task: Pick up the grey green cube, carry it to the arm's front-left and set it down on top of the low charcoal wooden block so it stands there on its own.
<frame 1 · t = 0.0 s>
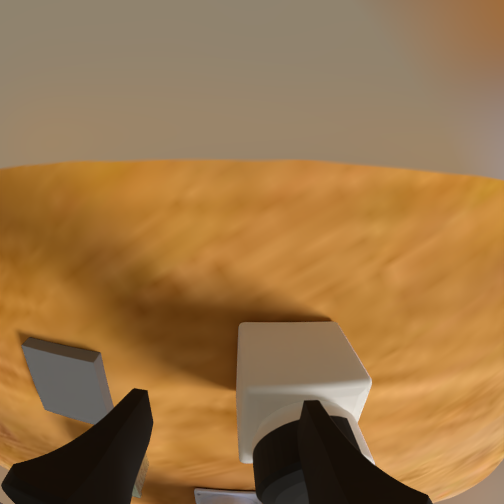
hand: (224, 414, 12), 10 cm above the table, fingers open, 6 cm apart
block: (74, 377, 24), on the table
medicine bottle: (284, 359, 23), on the table, touching gripper
grey green cube: (126, 448, 26), on the table
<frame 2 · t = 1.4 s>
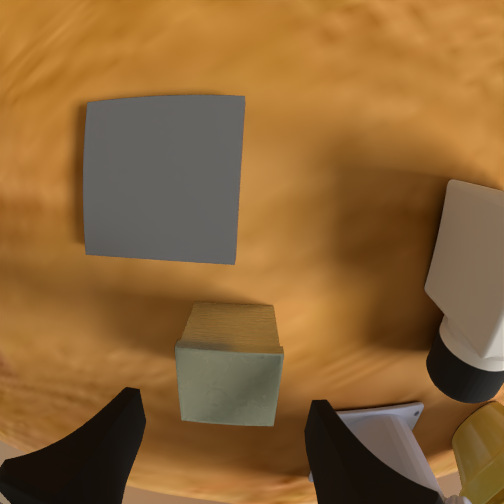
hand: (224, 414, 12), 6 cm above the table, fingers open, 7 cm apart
block: (165, 176, 16), on the table
plant pot: (475, 424, 22), on the table
grey green cube: (232, 336, 18), on the table
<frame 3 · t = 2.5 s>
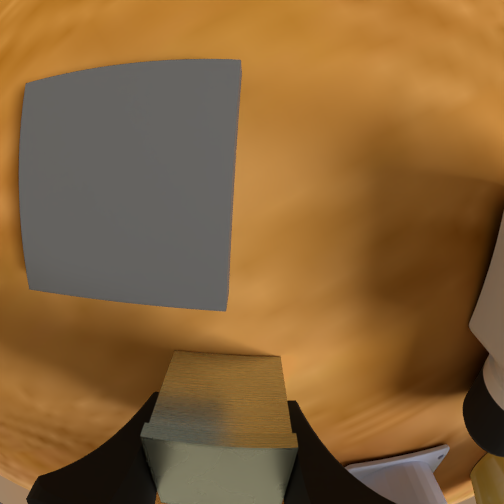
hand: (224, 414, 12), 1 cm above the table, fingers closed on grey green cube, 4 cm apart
block: (129, 180, 11), on the table
plant pot: (496, 454, 17), on the table
grey green cube: (226, 393, 13), on the table, touching gripper
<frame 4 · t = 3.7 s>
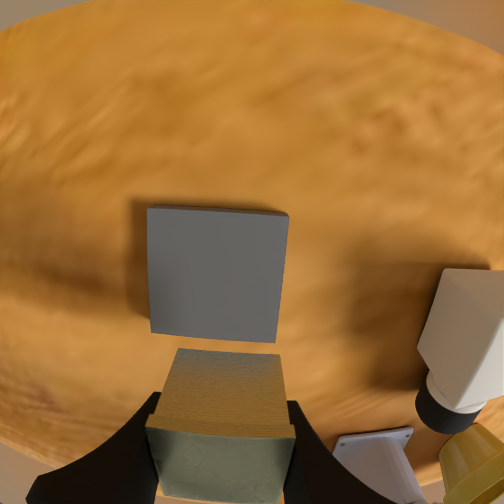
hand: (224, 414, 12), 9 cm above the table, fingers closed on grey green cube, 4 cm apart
block: (216, 269, 20), on the table
plant pot: (459, 441, 26), on the table
grey green cube: (227, 390, 14), point 7 cm above the table, touching gripper
when the fingers open (4 cm above the table, at t = 5.2 s): grey green cube drops 1 cm, point 1 cm above the table.
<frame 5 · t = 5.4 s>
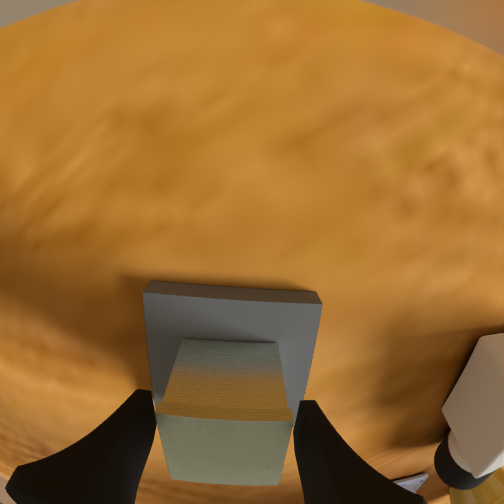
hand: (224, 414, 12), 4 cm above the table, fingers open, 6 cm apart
block: (230, 350, 16), on the table
plant pot: (470, 475, 23), on the table
grey green cube: (229, 377, 15), point 1 cm above the table
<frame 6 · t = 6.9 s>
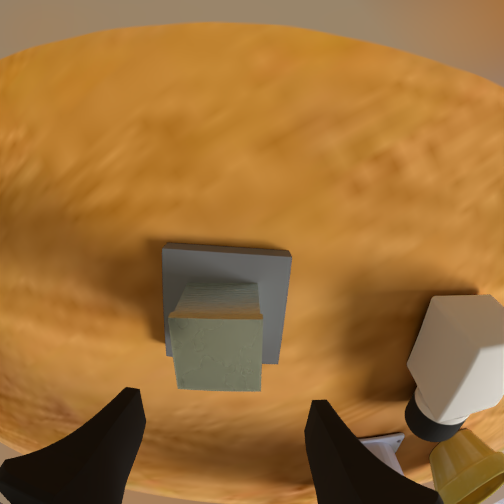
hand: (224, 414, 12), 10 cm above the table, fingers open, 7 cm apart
block: (225, 299, 22), on the table, touching grey green cube
medicine bottle: (487, 314, 18), point 4 cm above the table
plant pot: (449, 445, 28), on the table
grey green cube: (223, 314, 20), point 1 cm above the table, touching block
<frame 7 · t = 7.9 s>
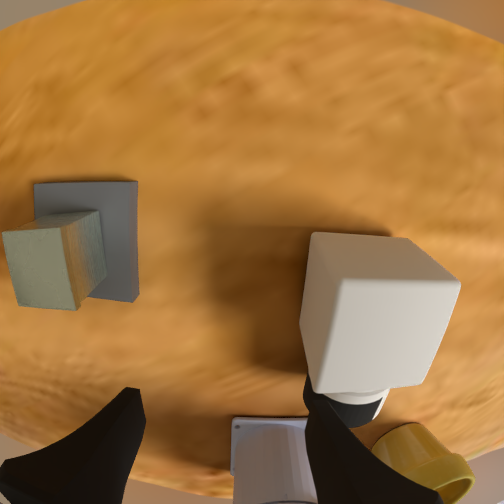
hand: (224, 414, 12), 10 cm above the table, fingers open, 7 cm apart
block: (91, 235, 21), on the table
medicine bottle: (383, 249, 16), point 4 cm above the table
plant pot: (397, 442, 27), on the table
grey green cube: (75, 244, 19), point 2 cm above the table
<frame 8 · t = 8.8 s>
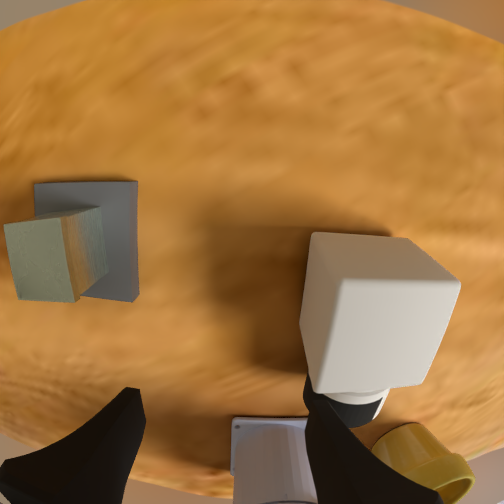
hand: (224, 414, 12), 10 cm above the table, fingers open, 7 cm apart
block: (91, 235, 21), on the table, touching grey green cube
medicine bottle: (383, 249, 16), point 4 cm above the table
plant pot: (397, 442, 27), on the table
grey green cube: (77, 241, 19), point 1 cm above the table, touching block
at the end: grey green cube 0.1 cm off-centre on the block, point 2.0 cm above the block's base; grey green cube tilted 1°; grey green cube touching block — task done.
